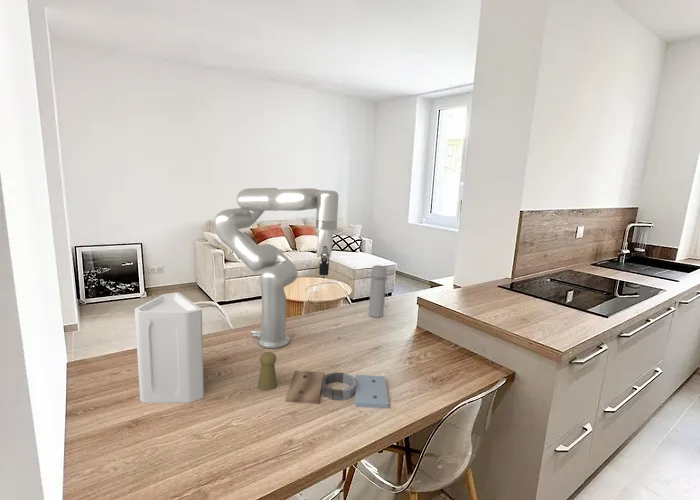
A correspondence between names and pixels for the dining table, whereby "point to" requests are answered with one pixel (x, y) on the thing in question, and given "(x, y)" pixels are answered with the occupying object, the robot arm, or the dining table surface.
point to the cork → (267, 372)
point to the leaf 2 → (366, 390)
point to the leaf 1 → (313, 387)
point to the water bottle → (377, 291)
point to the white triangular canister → (169, 350)
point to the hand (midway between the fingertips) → (324, 271)
